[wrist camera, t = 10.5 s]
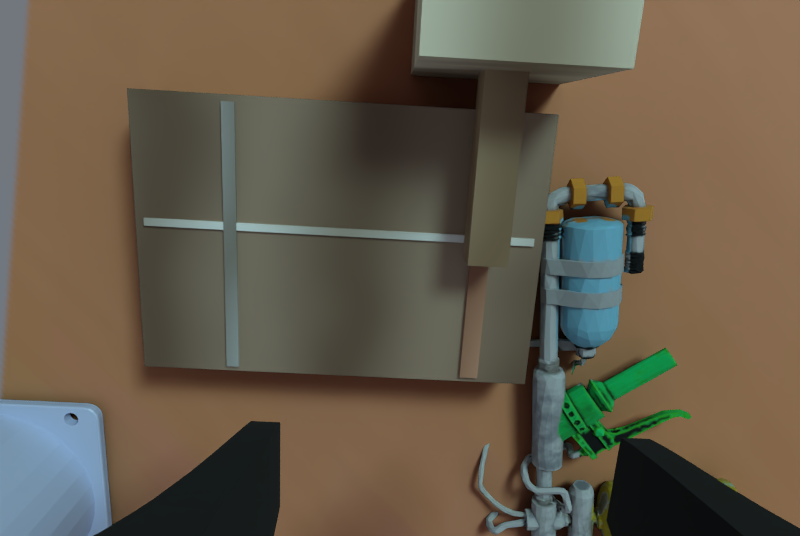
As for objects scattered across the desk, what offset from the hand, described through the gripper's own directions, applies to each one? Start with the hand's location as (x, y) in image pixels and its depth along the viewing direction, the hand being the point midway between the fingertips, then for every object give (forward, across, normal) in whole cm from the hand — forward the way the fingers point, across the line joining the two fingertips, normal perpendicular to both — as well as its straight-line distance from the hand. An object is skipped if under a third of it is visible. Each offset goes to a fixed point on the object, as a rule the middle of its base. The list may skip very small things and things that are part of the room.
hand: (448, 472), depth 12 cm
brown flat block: (+9, +3, -3) cm, 10 cm away
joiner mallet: (+10, -2, -7) cm, 12 cm away
